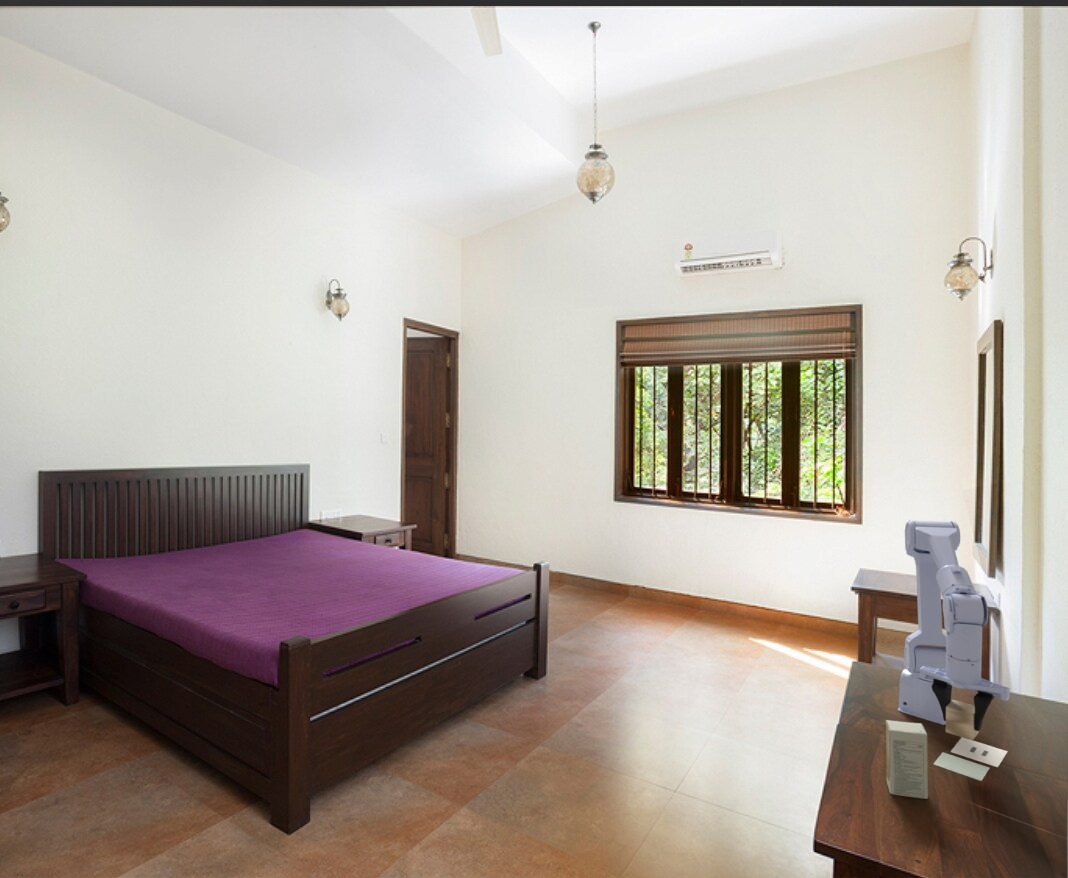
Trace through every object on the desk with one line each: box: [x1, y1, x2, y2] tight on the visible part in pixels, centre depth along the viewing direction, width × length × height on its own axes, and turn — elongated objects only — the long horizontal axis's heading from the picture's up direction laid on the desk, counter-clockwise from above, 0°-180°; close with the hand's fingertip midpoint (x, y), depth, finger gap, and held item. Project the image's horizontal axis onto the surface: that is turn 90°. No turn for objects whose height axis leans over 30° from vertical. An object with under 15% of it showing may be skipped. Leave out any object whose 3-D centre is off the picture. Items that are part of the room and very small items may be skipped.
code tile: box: [950, 737, 1008, 768], centre depth 133 cm, size 8×8×1 cm
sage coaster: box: [933, 752, 991, 782], centre depth 128 cm, size 8×6×1 cm
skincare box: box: [885, 719, 929, 800], centre depth 121 cm, size 6×4×12 cm
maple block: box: [945, 699, 980, 741], centre depth 128 cm, size 4×4×5 cm
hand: (962, 724), depth 128 cm, fingers closed on maple block, 4 cm apart
